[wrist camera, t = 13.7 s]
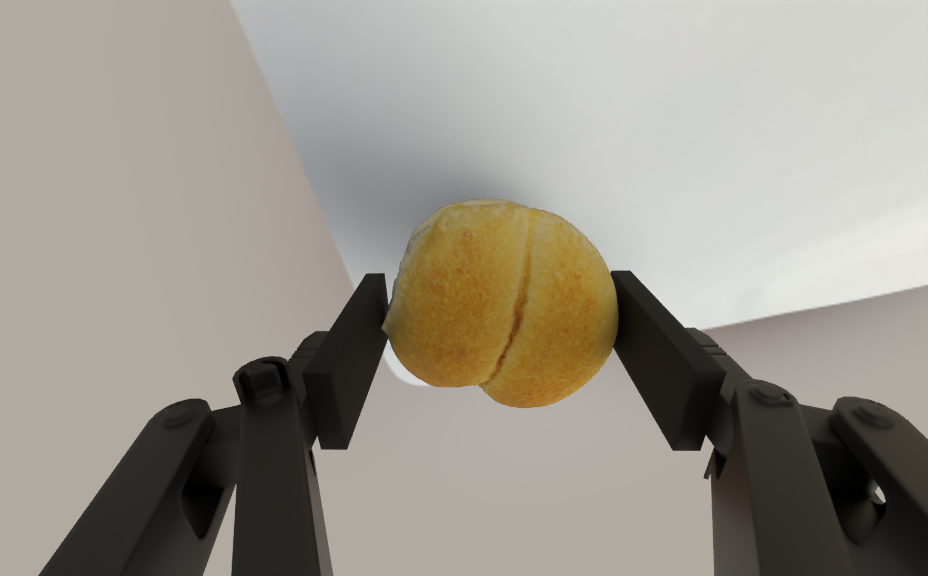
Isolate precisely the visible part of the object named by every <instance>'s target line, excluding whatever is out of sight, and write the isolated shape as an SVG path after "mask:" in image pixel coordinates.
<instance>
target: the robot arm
mask: <svg viewBox="0 0 928 576" xmlns="http://www.w3.org/2000/svg"><path fill="white" fill-rule="evenodd" d="M611 277H612V280H613V282H614V286H615V290H616V295H617V302H618V306H619V309H618V313H619V321H618V332H617V336H616V340H615V343H614V345H613V348H614V350H615V351H616V353H617V355H618V356H619V358H620V360H621V362H622V363H623V365H624V367H625V369H626V370H627V372H628V374H629V376H630V377H631V379H632V381H633V382H634V384H635V386H636V388H637V389H638V391H639V393H640V395H641V396H642V398H643V400H644V401H645V403H646V405H647V407H648V408H649V410H650V412H651V413H652V415H653V417H654V419H655V421H656V422H657V424H658V426H659V427H660V429H661V431H662V433H663V434H664V436H665V438H666V440H667V441H668V443H669V445H670V447H671V448H672V450H673V451H700V450H701V447H702V444H703V441H704V438H705V435H707V437H708V438H709V440H710V441H711V442H712V444H713V445H714V449H713V452H712V455H711V457H710V460H709V463H708V466H707V469H706V472H705V474H704V478H705V479H708V478H709V475H710V474H711V492H712V519H713V549H714V576H928V439H927V438H926V437H925V436H924V435H923V434H921V433H920V432H919V431H918V430H917V429H916V428H915V427H914V426H913V425H912V424H911V423H910V422H909V421H908V420H906V419H905V418H904V417H903V416H901V415H900V414H899V413H897V412H895V411H894V410H892V409H890V408H888V407H886V406H885V405H883V404H880V403H876V402H875V401H872V400H869V399H863V398H858V397H842V398H839V399H837V401H836V403H835V405H834V407H833V409H832V410H826V409H822V408H817V407H811V406H806V405H801V404H799V403H798V401H797V400H796V398H795V397H794V396H793V395H791V394H790V393H789V392H788V391H787V390H785V389H783V388H781V387H779V386H777V385H775V384H772V383H769V382H766V381H763V380H757V379H753V378H752V377H751V376H749V375H748V374H747V373H746V372H745V371H744V370H743V369H742V368H741V367H740V366H739V365H738V364H737V363H736V362H735V361H734V360H733V359H732V358H731V357H730V356H729V355H727V353H726V352H725V351H724V350H723V349H722V348H721V347H719V346H718V344H717V343H716V342H715V341H714V340H712V338H710V337H709V336H708V335H706V334H705V333H703V332H701V331H699V330H697V329H696V328H684V327H683V326H682V325H681V324H680V323H679V321H678V320H677V319H676V318H675V317H674V316H673V315H672V314H671V313H670V312H669V311H668V310H667V309H666V308H665V307H664V306H663V305H662V304H661V303H660V302H659V300H658V299H657V298H656V297H655V296H654V295H653V294H652V293H651V292H650V291H649V290H648V289H647V288H646V287H645V286H644V285H643V284H642V283H641V282H640V281H639V279H638V278H637V277H636V276H635V275H634V274H633V273H632V272H631V271H611ZM387 311H388V298H387V289H386V281H385V273H370V274H366V275H365V276H364V278H363V280H362V281H361V283H360V284H359V286H358V287H357V289H356V290H355V292H354V294H353V295H352V297H351V298H350V300H349V301H348V303H347V304H346V306H345V307H344V309H343V311H342V312H341V314H340V315H339V317H338V318H337V320H336V321H335V323H334V324H333V326H332V328H331V329H330V331H316V332H314V333H313V334H311V335H310V336H308V337H307V338H305V339H304V340H303V342H302V343H301V344H300V345H299V347H298V348H297V351H295V353H294V354H293V355H292V358H290V359H289V361H287V360H286V359H284V358H282V357H275V356H270V357H263V358H259V359H256V360H254V361H251V362H249V363H247V364H246V365H244V366H242V367H241V368H240V369H239V370H238V371H236V373H235V374H234V376H233V382H234V385H235V388H236V391H237V393H238V396H239V399H240V402H241V404H240V405H237V406H233V407H228V408H224V409H219V410H214V411H211V409H210V407H209V405H208V403H207V401H205V400H202V399H187V400H183V401H179V402H176V403H174V404H171V405H169V406H167V407H166V408H164V409H162V410H161V411H159V412H158V413H157V414H155V415H154V416H153V418H151V419H150V421H149V422H148V423H147V425H146V426H145V427H144V429H143V430H142V432H141V433H140V434H139V436H138V437H137V439H136V440H135V441H134V443H133V444H132V446H131V447H130V448H129V450H128V451H127V452H126V454H125V455H124V457H123V458H122V459H121V461H120V462H119V464H118V465H117V466H116V468H115V469H114V471H113V472H112V474H111V475H110V476H109V478H108V479H107V480H106V482H105V483H104V485H103V486H102V488H101V489H100V490H99V492H98V493H97V494H96V496H95V497H94V499H93V500H92V502H91V503H90V505H89V506H88V507H87V509H86V510H85V511H84V513H83V514H82V515H81V517H80V518H79V520H78V521H77V522H76V524H75V525H74V527H73V528H72V529H71V531H70V532H69V534H68V535H67V537H66V538H65V539H64V541H63V542H62V543H61V545H60V546H59V548H58V549H57V550H56V552H55V553H54V555H53V556H52V557H51V559H50V560H49V562H48V563H47V564H46V566H45V567H44V569H43V570H42V571H41V573H40V574H39V576H203V573H204V570H205V568H206V565H207V562H208V559H209V557H210V554H211V551H212V548H213V546H214V543H215V540H216V537H217V534H218V532H219V529H220V526H221V524H222V521H223V518H224V515H225V512H226V510H227V507H228V504H229V501H230V498H231V496H232V493H233V490H234V487H235V485H236V484H237V487H236V488H237V489H236V506H235V522H234V523H235V524H234V539H233V557H232V574H231V576H333V571H332V566H331V560H330V553H329V547H328V541H327V534H326V528H325V522H324V516H323V510H322V504H321V497H320V492H319V486H318V479H317V473H316V467H315V460H314V455H313V452H312V446H313V444H314V442H315V440H316V437H317V435H318V439H319V443H320V447H321V449H335V450H337V449H338V450H341V449H342V450H347V448H348V445H349V443H350V440H351V437H352V435H353V432H354V429H355V426H356V424H357V421H358V418H359V416H360V413H361V410H362V408H363V405H364V402H365V400H366V397H367V394H368V391H369V389H370V386H371V383H372V381H373V378H374V375H375V373H376V370H377V367H378V365H379V362H380V359H381V356H382V354H383V351H384V348H385V346H386V343H387V340H388V336H387V334H386V333H385V332H384V331H383V330H382V325H383V323H384V321H385V317H386V314H387ZM878 486H879V487H880V489H881V490H882V492H883V494H884V496H885V500H886V502H885V503H883V502H882V501H881V500H880V498H879V497H878V496H877V494H876V493H875V491H876V489H877V487H878Z"/></svg>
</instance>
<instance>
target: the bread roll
mask: <svg viewBox="0 0 928 576" xmlns="http://www.w3.org/2000/svg"><path fill="white" fill-rule="evenodd" d="M618 309H619V306H618V302H617V295H616V290H615V286H614V282H613V280H612V277H611V275H610V272H609V270H608V268H607V266H606V264H605V262H604V260H603V258H602V256H601V255H600V253H599V252H598V250H597V249H596V248H595V247H594V245H593V244H592V243H591V242H590V241H589V240H588V239H587V237H586V236H585V235H584V234H582V233H581V232H580V231H579V230H578V229H577V228H576V227H574V226H573V225H572V224H570V223H569V222H568V221H566V220H565V219H563V218H562V217H560V216H558V215H556V214H553V213H550V212H547V211H544V210H538V209H533V208H528V207H526V206H524V205H520V204H517V203H514V202H511V201H507V200H501V199H482V200H468V201H464V202H459V203H452V204H449V205H446V206H444V207H441V208H440V209H439V210H438V211H436V212H435V213H434V214H433V215H431V216H430V217H429V218H428V219H426V220H425V221H424V222H423V223H422V224H421V225H420V226H418V227H417V228H416V229H414V231H413V233H412V236H411V238H410V241H409V243H408V246H407V248H406V251H405V254H404V256H403V259H402V262H401V263H400V267H399V273H398V277H397V278H396V279H395V281H394V286H393V291H392V299H391V302H390V304H389V305H388V311H387V314H386V317H385V321H384V323H383V325H382V330H383V331H384V332H385V333H386V334H387V336H388V338H389V341H390V344H391V347H392V349H393V351H394V353H395V355H396V356H397V358H398V359H399V361H400V362H401V363H402V365H403V366H404V367H405V368H406V369H407V370H408V371H409V372H410V373H412V374H413V375H414V376H416V377H417V378H419V379H421V380H422V381H424V382H426V383H428V384H429V385H432V386H436V387H463V386H470V385H478V386H479V387H481V388H482V389H483V391H484V392H485V393H487V394H488V395H489V396H490V397H491V398H493V399H494V400H495V401H497V402H499V403H501V404H504V405H507V406H510V407H518V408H531V407H540V406H546V405H550V404H553V403H556V402H558V401H559V400H561V399H563V398H565V397H567V396H569V395H570V394H572V393H573V392H575V391H576V390H578V389H579V388H580V387H582V386H583V385H584V384H586V383H587V382H588V381H589V380H590V379H591V378H592V377H593V376H594V375H595V374H596V373H597V372H598V371H599V370H600V368H601V367H602V366H603V365H604V363H605V361H606V360H607V358H608V357H609V355H610V353H611V351H612V348H613V345H614V343H615V340H616V336H617V332H618V321H619V313H618Z"/></svg>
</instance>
